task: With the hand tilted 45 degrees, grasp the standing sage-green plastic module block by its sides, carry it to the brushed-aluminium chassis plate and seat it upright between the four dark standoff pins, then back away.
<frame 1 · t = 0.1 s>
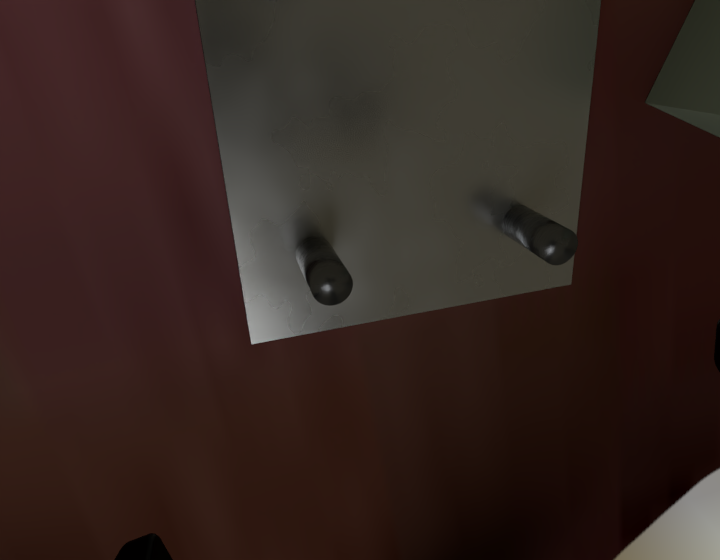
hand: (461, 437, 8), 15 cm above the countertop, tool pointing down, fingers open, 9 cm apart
chassis: (406, 108, 21), on the countertop
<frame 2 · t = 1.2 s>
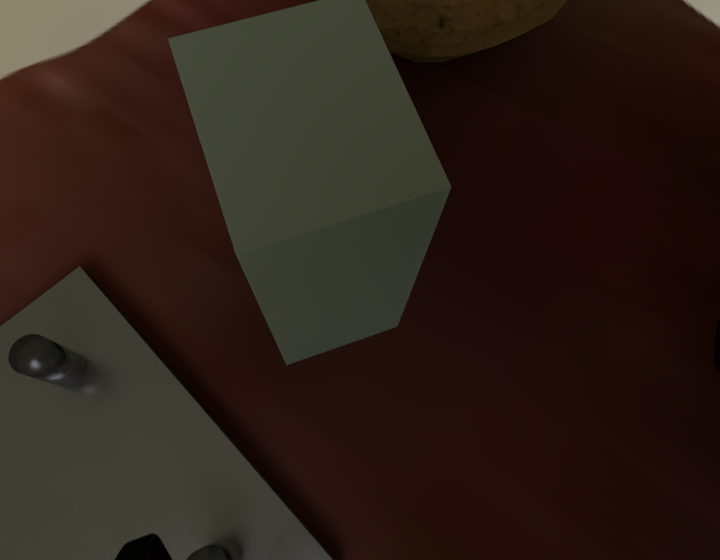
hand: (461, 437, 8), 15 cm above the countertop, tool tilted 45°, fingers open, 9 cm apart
module: (320, 282, 25), on the countertop
chassis: (61, 542, 21), on the countertop
potato: (449, 20, 31), on the countertop
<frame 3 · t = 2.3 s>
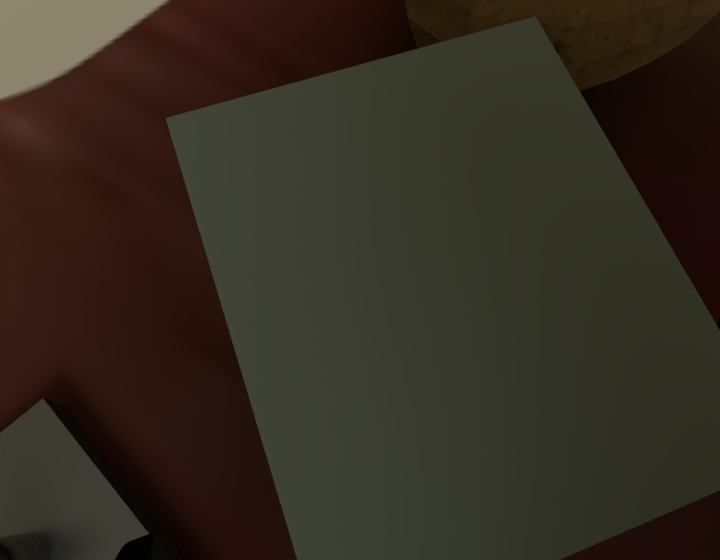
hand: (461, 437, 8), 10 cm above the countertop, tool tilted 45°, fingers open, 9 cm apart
module: (379, 410, 18), on the countertop
potato: (533, 41, 24), on the countertop
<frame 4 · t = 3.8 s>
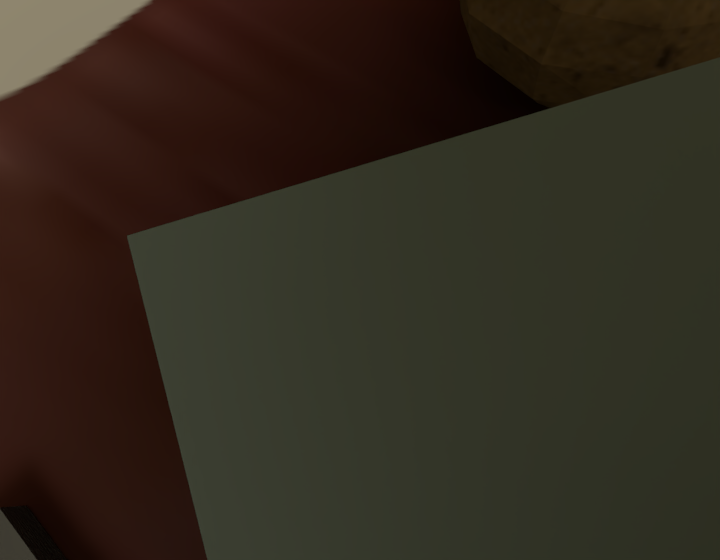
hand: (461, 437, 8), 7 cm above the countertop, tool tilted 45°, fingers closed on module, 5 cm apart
module: (429, 511, 14), on the countertop, touching gripper
potato: (599, 42, 20), on the countertop
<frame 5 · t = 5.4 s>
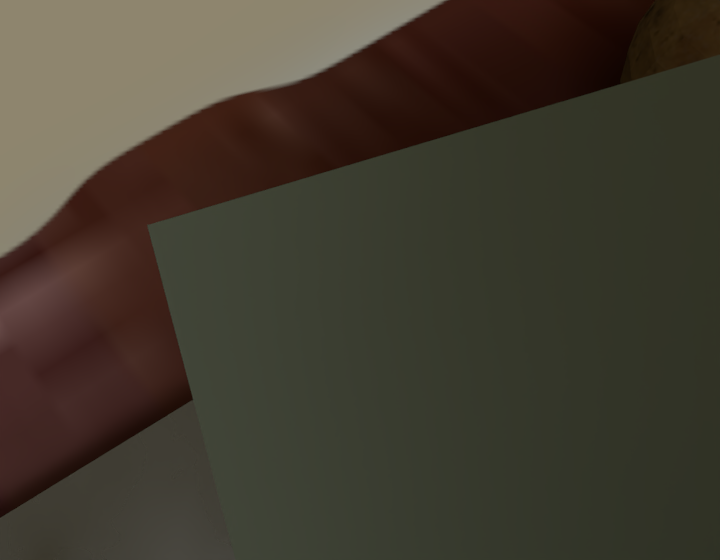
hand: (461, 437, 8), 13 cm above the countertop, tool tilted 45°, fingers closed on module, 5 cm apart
module: (430, 508, 14), point 7 cm above the countertop, touching gripper
potato: (706, 112, 27), on the countertop
when the fingers open (9 cm above the countertop, at t = 7.1 s): module drops 2 cm, resting on chassis.
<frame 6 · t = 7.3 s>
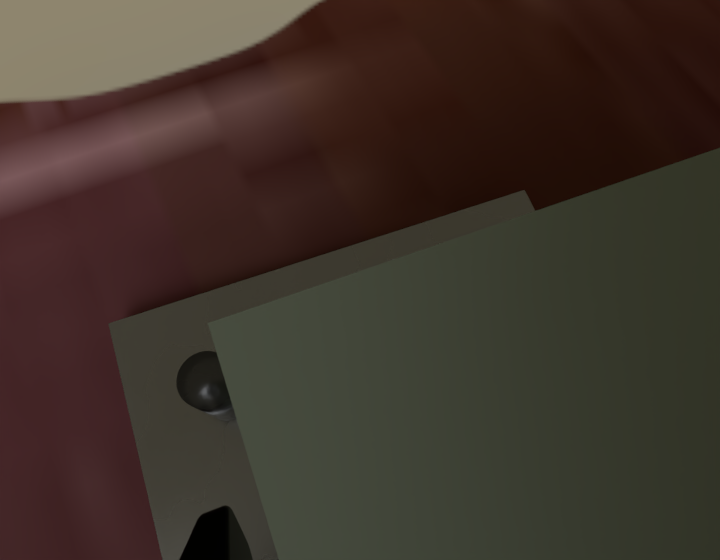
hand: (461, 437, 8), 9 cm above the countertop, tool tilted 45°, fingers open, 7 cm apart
module: (422, 506, 16), point 1 cm above the countertop, touching chassis
chassis: (415, 503, 17), on the countertop
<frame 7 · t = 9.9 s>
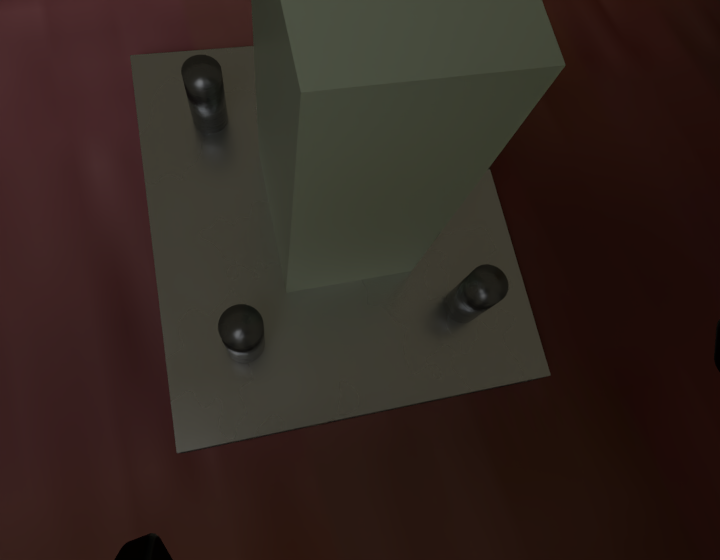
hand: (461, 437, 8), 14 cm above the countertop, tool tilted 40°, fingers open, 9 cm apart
module: (334, 210, 23), point 1 cm above the countertop, touching chassis
chassis: (330, 221, 24), on the countertop
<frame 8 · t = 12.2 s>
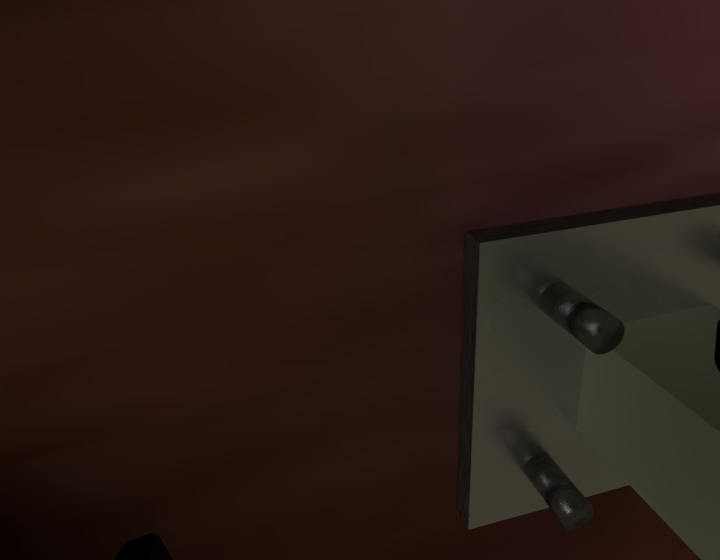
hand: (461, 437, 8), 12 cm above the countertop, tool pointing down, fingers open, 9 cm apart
module: (642, 367, 25), point 1 cm above the countertop, touching chassis
chassis: (624, 352, 26), on the countertop
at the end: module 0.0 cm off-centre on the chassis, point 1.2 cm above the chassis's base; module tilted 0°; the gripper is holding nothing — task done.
